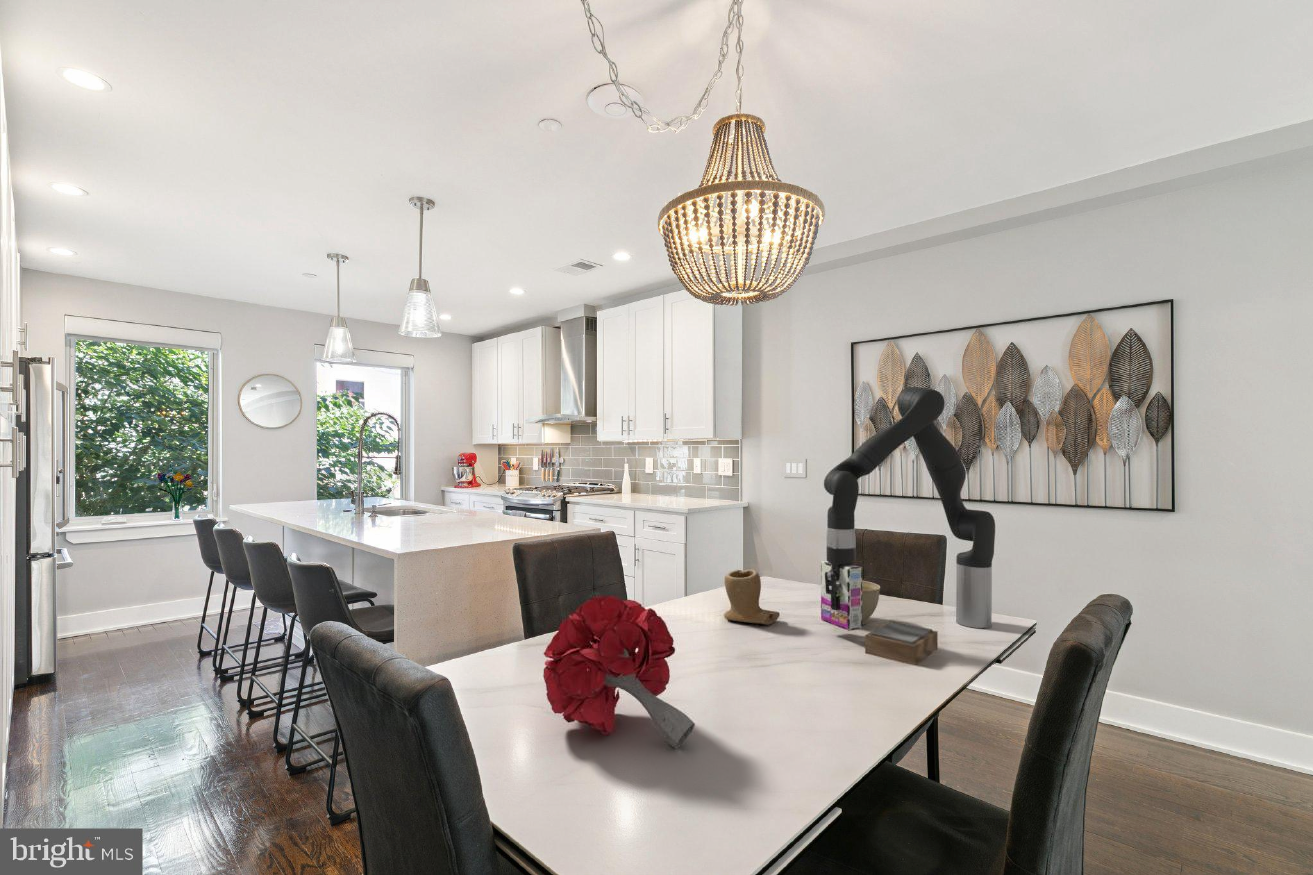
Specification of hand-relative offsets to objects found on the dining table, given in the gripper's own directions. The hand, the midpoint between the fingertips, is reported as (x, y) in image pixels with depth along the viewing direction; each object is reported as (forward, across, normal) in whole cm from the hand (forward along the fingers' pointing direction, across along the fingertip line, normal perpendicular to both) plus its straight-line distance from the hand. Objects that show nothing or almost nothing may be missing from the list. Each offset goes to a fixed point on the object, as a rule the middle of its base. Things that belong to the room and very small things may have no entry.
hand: (841, 606), depth 165 cm
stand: (+8, -1, +16) cm, 18 cm away
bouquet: (+7, +78, -4) cm, 79 cm away
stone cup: (+8, +6, -26) cm, 28 cm away
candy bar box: (+5, 0, 0) cm, 5 cm away
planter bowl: (+9, -16, -5) cm, 19 cm away
